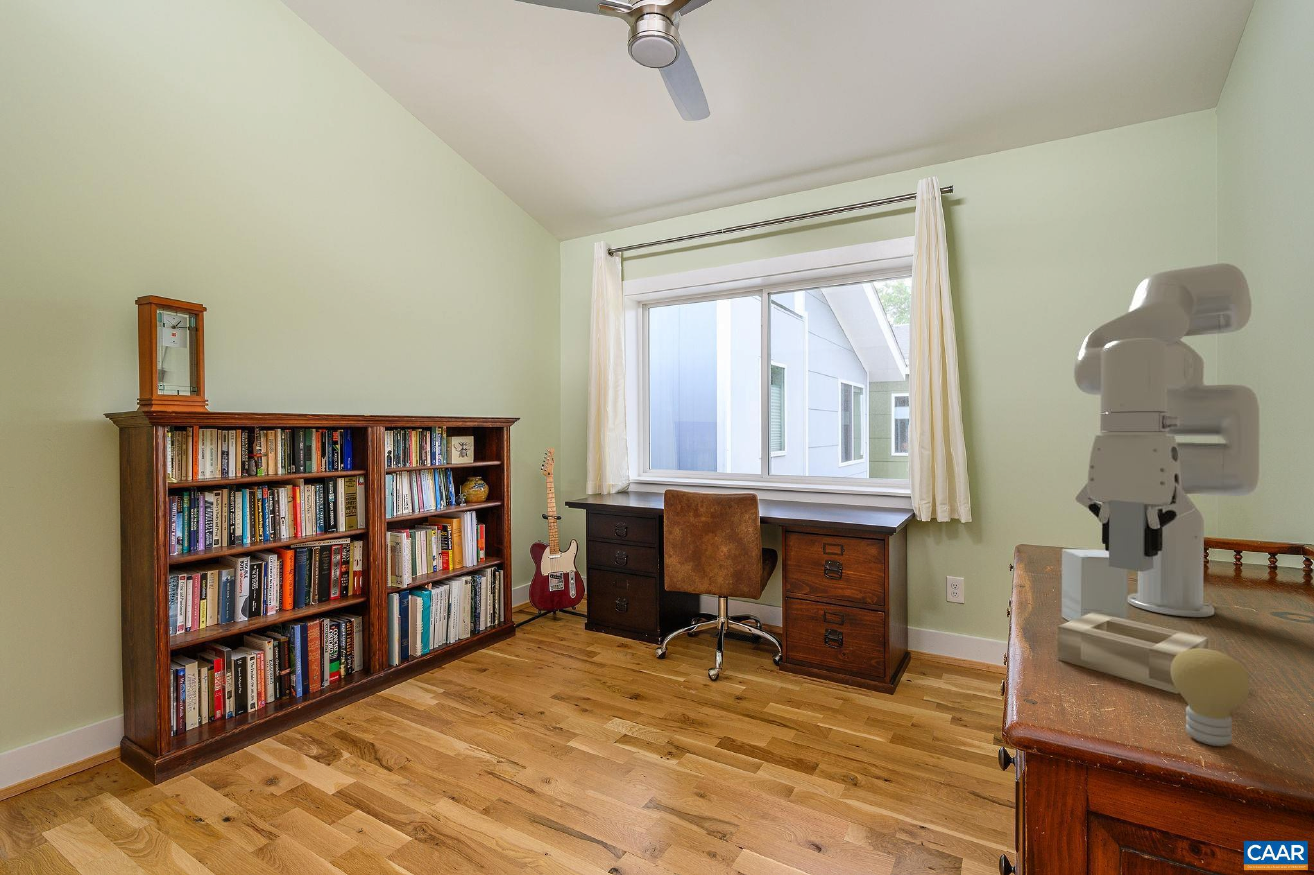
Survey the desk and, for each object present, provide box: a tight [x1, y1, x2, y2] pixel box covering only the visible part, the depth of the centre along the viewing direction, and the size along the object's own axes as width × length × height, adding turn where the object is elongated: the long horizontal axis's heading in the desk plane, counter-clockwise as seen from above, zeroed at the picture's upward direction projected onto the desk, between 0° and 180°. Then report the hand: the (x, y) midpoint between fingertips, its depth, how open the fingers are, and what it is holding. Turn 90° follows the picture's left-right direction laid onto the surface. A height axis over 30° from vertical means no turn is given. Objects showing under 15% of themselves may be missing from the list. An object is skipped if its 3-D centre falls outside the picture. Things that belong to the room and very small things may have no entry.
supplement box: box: [1061, 548, 1129, 622], centre depth 106 cm, size 7×7×13 cm
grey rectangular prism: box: [1109, 500, 1154, 572], centre depth 87 cm, size 4×4×10 cm
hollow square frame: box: [1057, 612, 1209, 695], centre depth 87 cm, size 12×14×5 cm
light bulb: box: [1171, 648, 1251, 747], centre depth 66 cm, size 6×6×10 cm
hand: (1131, 551), depth 87 cm, fingers closed on grey rectangular prism, 4 cm apart
